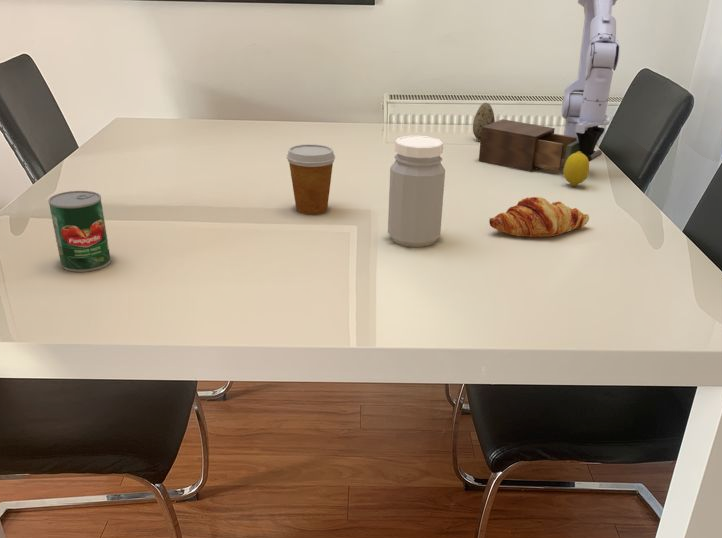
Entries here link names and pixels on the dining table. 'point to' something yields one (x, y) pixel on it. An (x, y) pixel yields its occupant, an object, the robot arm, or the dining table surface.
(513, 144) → the cabinet
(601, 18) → the robot arm
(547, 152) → the drawer
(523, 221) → the croissant
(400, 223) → the jar
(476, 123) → the decorative egg
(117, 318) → the dining table surface
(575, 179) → the lemon
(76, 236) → the canned tomato
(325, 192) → the disposable coffee cup
